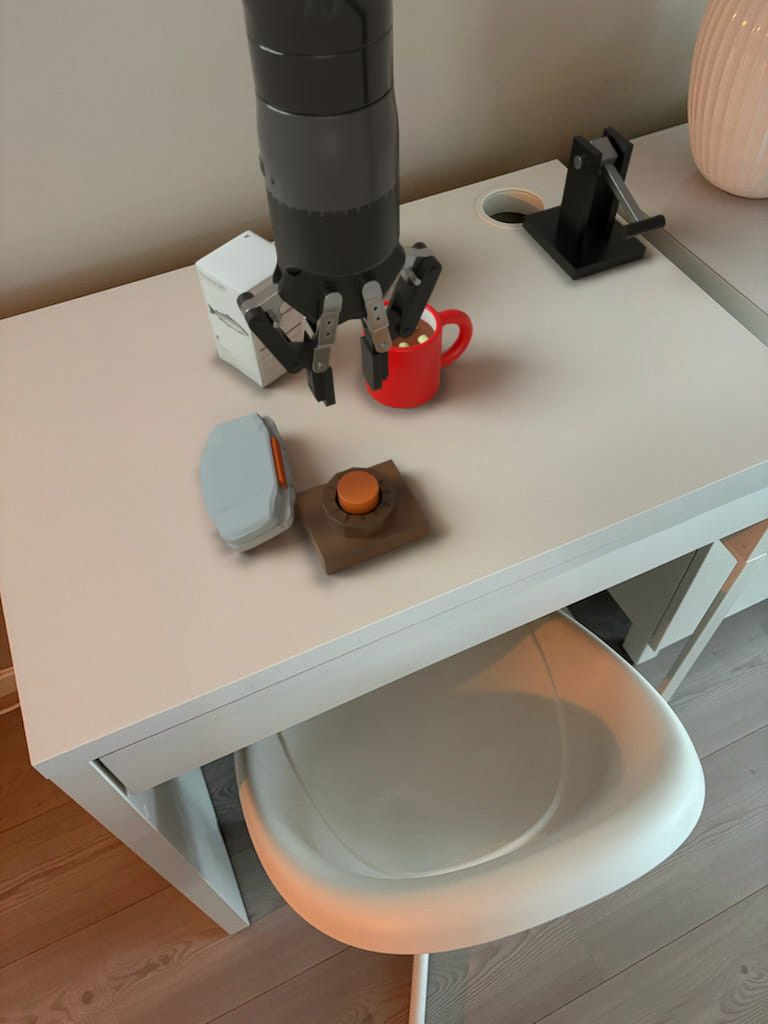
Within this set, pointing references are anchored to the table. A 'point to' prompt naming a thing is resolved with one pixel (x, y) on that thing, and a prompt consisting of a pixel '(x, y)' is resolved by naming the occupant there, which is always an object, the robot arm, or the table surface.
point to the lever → (624, 194)
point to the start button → (358, 492)
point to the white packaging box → (222, 282)
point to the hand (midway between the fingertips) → (349, 389)
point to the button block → (360, 519)
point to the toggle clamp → (587, 214)
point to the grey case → (247, 481)
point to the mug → (421, 359)
